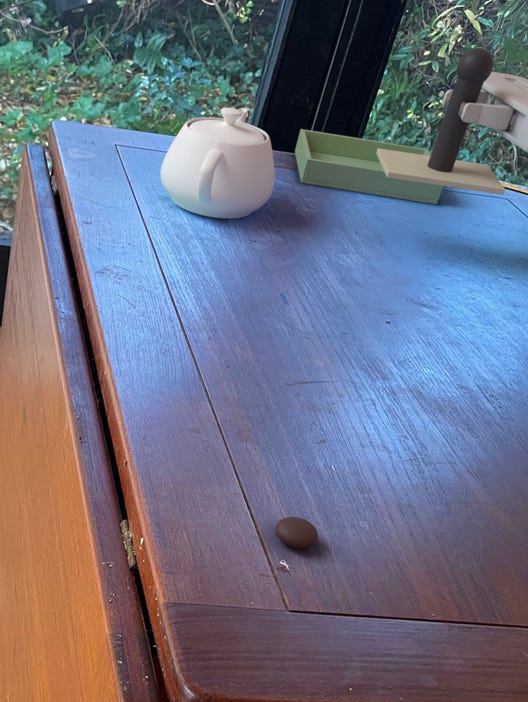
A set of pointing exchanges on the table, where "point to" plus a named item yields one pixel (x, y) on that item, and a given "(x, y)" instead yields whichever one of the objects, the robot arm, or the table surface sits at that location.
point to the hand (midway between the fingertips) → (453, 105)
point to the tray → (356, 166)
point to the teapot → (219, 166)
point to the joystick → (450, 138)
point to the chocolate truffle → (296, 532)
